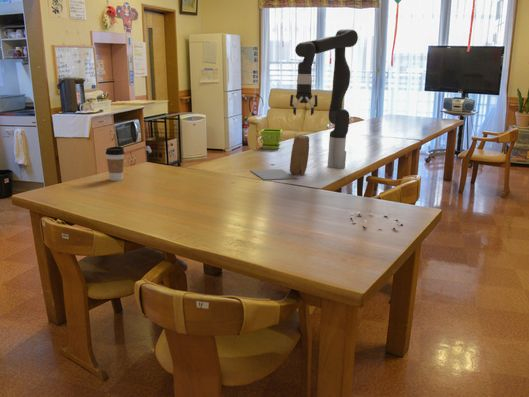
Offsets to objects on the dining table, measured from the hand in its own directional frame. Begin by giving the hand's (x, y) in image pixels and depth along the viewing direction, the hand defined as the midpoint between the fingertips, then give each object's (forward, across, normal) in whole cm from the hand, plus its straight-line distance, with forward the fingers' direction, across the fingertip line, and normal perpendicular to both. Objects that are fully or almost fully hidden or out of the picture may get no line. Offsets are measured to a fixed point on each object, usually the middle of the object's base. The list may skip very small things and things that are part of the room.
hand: (303, 115), depth 254 cm
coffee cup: (+28, +90, +34) cm, 100 cm away
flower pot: (+31, +16, -79) cm, 87 cm away
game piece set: (+31, -22, +86) cm, 94 cm away
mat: (+30, +15, +10) cm, 35 cm away
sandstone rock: (+30, +2, +5) cm, 31 cm away
